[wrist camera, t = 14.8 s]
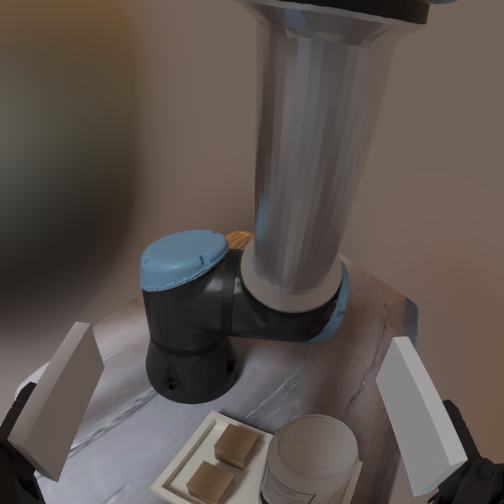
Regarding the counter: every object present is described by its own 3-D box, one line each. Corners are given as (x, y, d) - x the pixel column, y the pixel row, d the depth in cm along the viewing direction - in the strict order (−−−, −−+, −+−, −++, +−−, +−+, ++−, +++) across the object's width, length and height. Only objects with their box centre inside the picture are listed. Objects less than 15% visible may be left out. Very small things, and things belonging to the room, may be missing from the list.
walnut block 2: (215, 458, 34) (214, 445, 32) (229, 437, 37) (229, 422, 35) (243, 471, 32) (244, 458, 31) (256, 448, 36) (258, 434, 34)
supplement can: (255, 474, 32) (265, 411, 25) (319, 469, 32) (352, 405, 26) (259, 528, 25) (273, 491, 18) (329, 521, 25) (374, 476, 19)
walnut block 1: (189, 495, 28) (186, 484, 27) (206, 472, 32) (203, 460, 30) (219, 509, 27) (218, 500, 25) (234, 485, 30) (234, 474, 28)
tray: (153, 493, 28) (149, 487, 27) (212, 418, 41) (211, 410, 40) (322, 562, 20) (327, 560, 19) (357, 468, 33) (363, 461, 32)
